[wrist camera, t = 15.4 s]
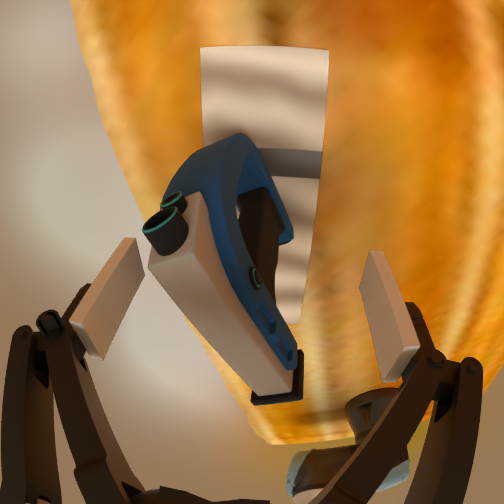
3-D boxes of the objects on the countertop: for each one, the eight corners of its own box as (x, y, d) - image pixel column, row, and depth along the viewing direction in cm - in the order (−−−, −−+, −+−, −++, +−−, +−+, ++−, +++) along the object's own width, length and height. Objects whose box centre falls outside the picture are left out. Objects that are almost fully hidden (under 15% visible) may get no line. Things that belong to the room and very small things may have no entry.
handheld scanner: (265, 256, 36) (255, 410, 21) (203, 135, 28) (111, 250, 12) (301, 245, 35) (313, 402, 19) (244, 116, 27) (196, 214, 11)
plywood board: (298, 318, 44) (298, 324, 43) (219, 313, 45) (217, 320, 44) (327, 51, 23) (329, 50, 22) (203, 48, 24) (200, 47, 23)
